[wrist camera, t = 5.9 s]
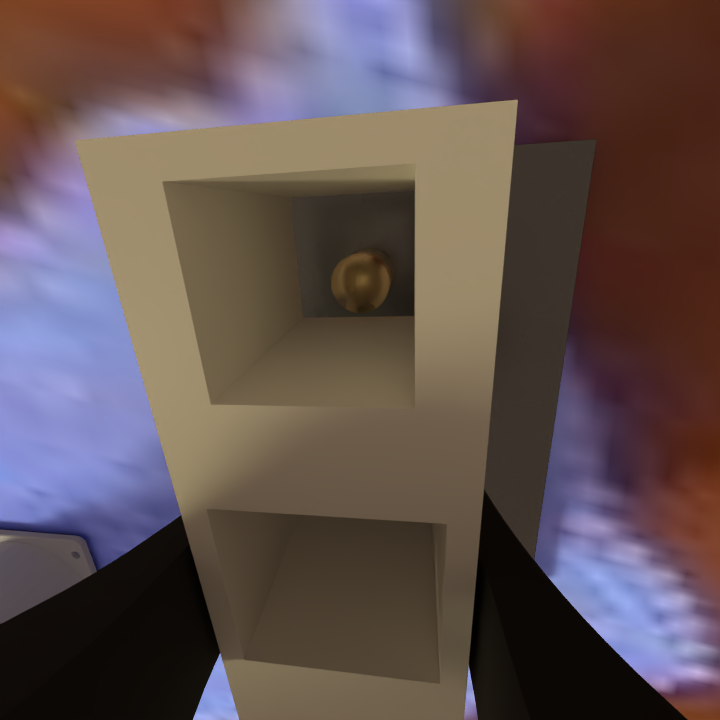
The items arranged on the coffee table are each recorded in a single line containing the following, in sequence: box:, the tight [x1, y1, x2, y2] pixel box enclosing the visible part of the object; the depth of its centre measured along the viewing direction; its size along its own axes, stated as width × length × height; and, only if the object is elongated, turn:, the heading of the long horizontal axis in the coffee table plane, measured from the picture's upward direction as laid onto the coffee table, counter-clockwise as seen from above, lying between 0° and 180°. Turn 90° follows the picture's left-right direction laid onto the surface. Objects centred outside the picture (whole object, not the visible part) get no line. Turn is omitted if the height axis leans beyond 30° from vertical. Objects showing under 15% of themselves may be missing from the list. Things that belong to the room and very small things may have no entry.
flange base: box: [290, 139, 597, 559], centre depth 13 cm, size 18×13×4 cm
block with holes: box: [75, 100, 518, 720], centre depth 9 cm, size 15×5×5 cm, turn 3°
